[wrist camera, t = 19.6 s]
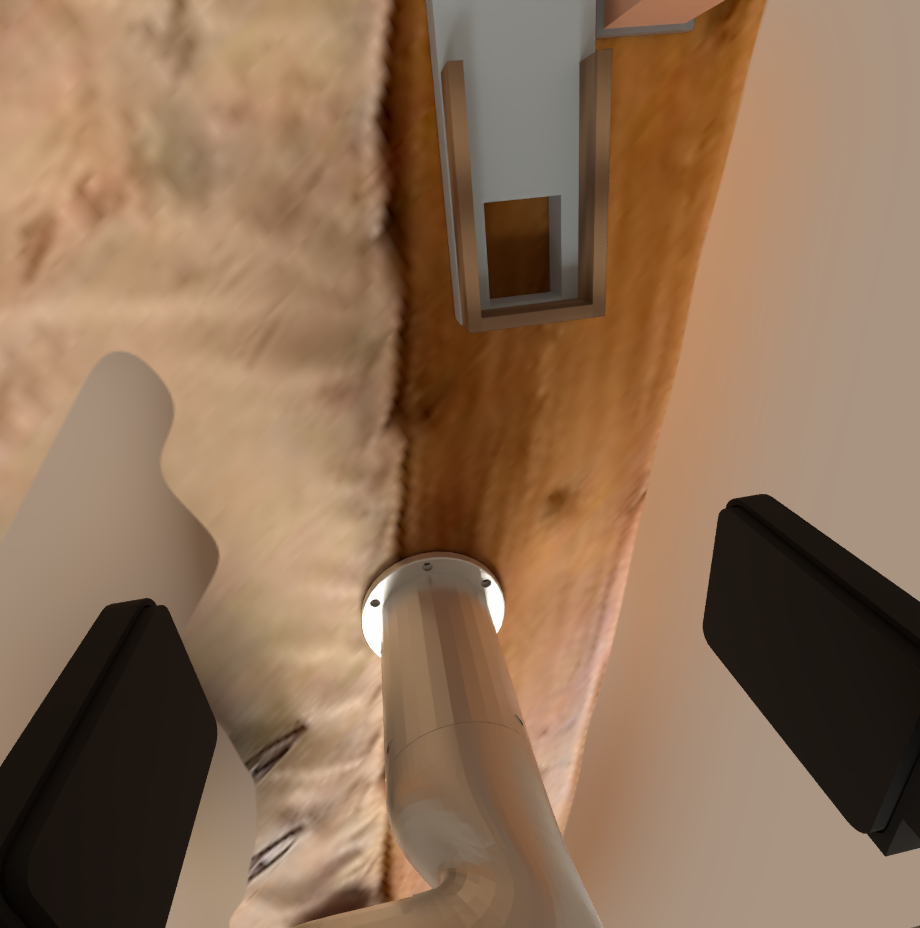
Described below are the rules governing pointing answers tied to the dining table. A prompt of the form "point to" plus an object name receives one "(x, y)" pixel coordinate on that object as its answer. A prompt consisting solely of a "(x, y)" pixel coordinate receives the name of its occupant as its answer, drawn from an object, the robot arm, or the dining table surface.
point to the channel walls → (590, 211)
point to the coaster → (636, 31)
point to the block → (653, 12)
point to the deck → (517, 119)
